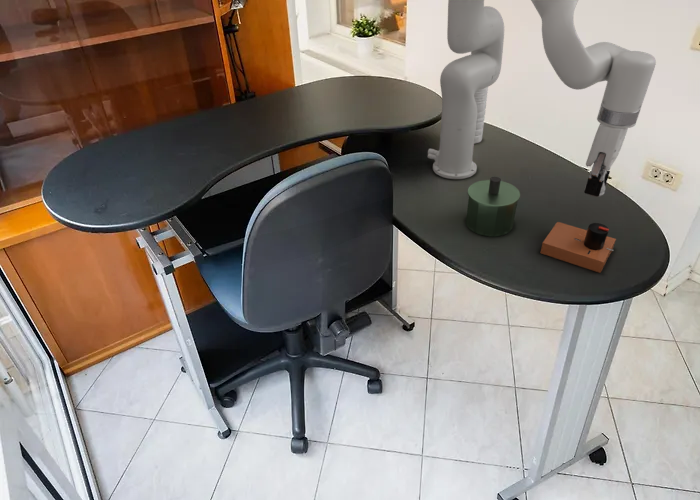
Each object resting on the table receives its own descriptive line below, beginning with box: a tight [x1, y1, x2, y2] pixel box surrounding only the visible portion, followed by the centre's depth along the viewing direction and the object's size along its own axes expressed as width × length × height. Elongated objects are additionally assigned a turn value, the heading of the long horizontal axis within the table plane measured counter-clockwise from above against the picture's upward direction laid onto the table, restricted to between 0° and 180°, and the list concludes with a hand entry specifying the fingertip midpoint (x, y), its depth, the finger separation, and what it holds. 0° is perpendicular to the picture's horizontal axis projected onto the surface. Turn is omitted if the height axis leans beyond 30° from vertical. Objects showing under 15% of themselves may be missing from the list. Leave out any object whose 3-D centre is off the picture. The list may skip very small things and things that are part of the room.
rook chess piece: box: [583, 165, 608, 198], centre depth 115 cm, size 4×4×8 cm
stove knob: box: [584, 222, 610, 250], centre depth 109 cm, size 4×4×5 cm
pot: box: [465, 196, 519, 238], centre depth 122 cm, size 11×11×8 cm
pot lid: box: [467, 176, 521, 207], centre depth 118 cm, size 12×12×5 cm
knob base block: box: [540, 221, 617, 274], centre depth 113 cm, size 14×10×3 cm
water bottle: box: [474, 86, 489, 145], centre depth 156 cm, size 9×6×25 cm
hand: (594, 188), depth 116 cm, fingers closed on rook chess piece, 4 cm apart
